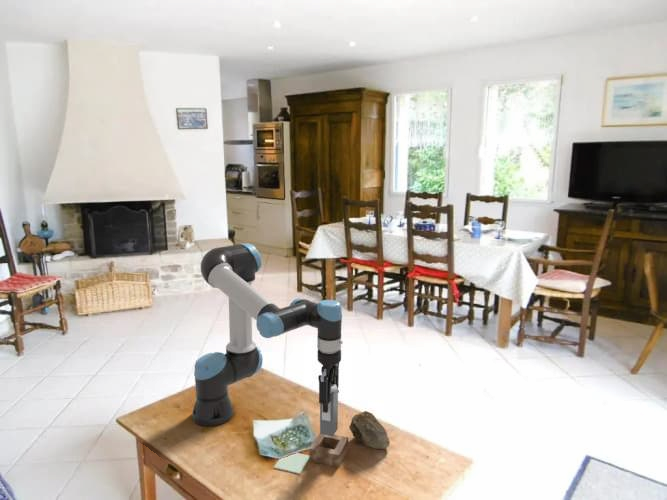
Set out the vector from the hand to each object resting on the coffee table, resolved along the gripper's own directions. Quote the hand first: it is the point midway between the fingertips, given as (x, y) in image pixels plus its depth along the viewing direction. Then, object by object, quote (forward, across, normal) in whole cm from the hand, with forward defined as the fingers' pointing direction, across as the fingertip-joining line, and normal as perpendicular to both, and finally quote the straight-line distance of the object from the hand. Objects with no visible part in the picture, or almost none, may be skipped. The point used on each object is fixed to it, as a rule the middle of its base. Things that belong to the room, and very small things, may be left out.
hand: (328, 415), depth 154 cm
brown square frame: (+14, 0, 0) cm, 14 cm away
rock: (+14, +10, -11) cm, 21 cm away
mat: (+14, -8, +10) cm, 19 cm away
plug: (+6, 0, 0) cm, 6 cm away
